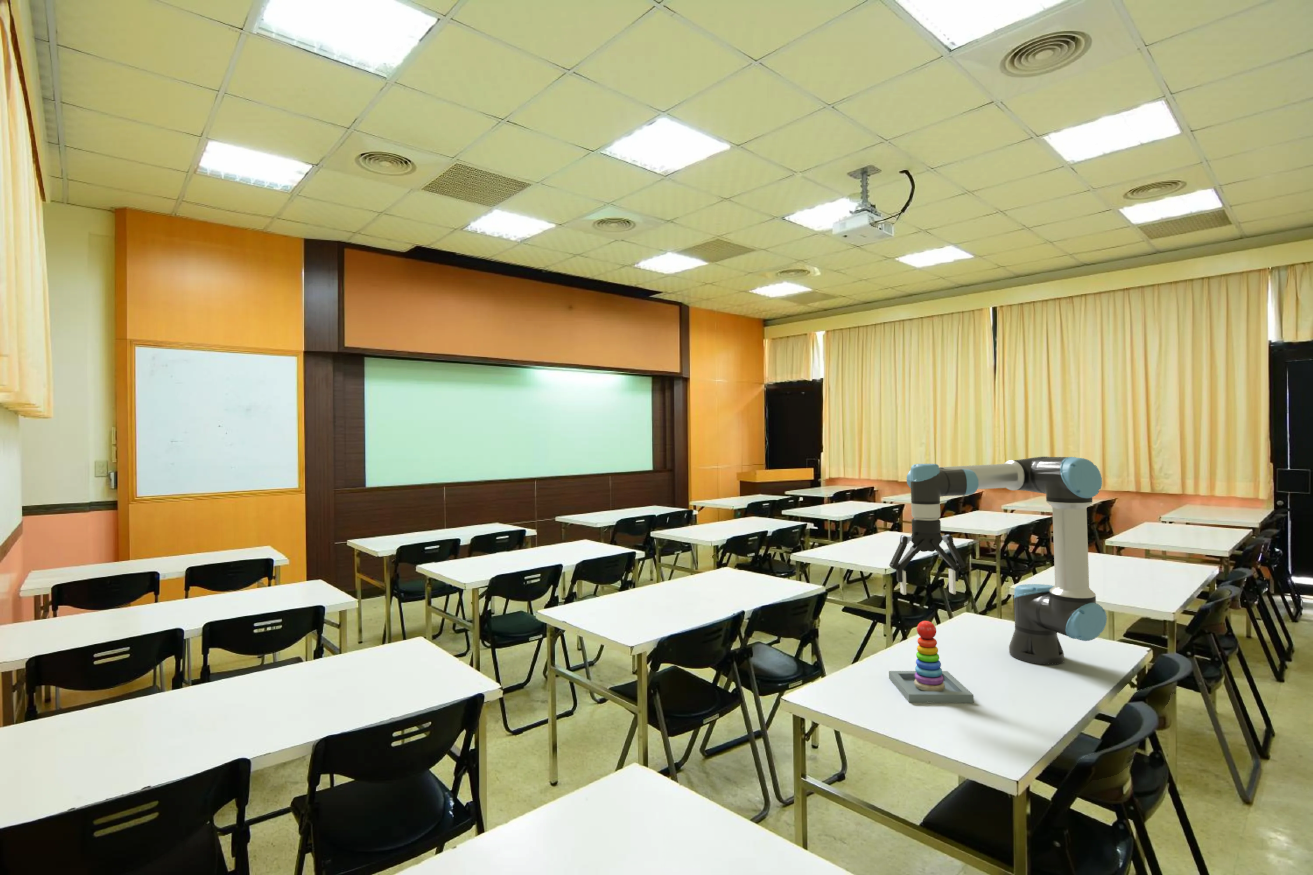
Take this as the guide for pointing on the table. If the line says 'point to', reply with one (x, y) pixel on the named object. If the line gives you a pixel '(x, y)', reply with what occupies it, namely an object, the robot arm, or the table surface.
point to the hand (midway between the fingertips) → (927, 593)
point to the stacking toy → (928, 660)
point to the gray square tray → (950, 694)
